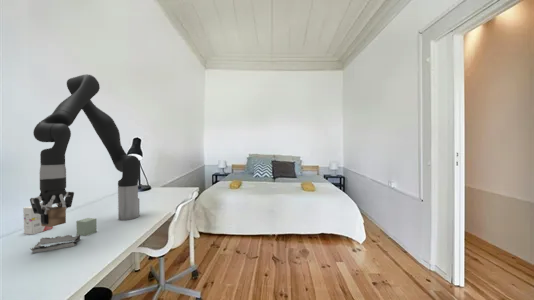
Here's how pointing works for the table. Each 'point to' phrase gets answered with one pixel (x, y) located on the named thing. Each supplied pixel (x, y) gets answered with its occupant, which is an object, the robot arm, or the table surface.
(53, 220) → the walnut block
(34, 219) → the ink cartridge box
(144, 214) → the table surface
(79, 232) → the sage block
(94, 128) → the robot arm
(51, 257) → the table surface
